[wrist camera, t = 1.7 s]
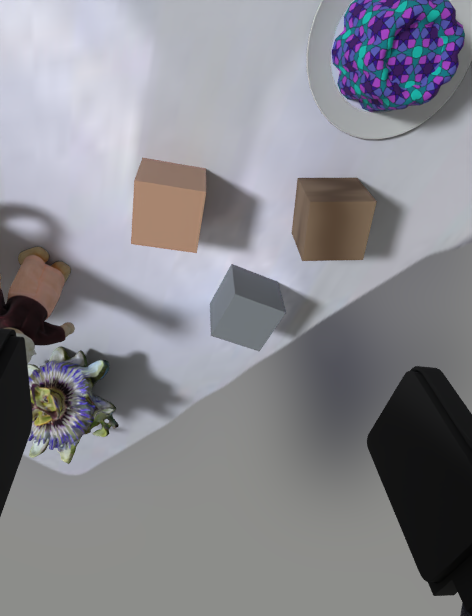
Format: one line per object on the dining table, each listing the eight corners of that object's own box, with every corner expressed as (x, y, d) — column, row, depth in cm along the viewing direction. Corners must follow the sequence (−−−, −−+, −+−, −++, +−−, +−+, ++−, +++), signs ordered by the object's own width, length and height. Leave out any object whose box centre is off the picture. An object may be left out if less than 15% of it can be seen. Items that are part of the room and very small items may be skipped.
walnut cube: (356, 177, 35) (376, 201, 31) (345, 231, 38) (362, 259, 34) (297, 177, 35) (310, 201, 31) (291, 232, 38) (302, 260, 34)
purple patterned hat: (310, -61, 26) (331, -71, 22) (500, -69, 26) (557, -80, 22) (299, 141, 33) (313, 162, 29) (448, 132, 33) (483, 152, 29)
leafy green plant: (74, 320, 49) (95, 344, 38) (126, 387, 53) (158, 424, 43) (-17, 383, 45) (-20, 427, 35) (48, 449, 49) (61, 506, 39)
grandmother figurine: (0, 262, 37) (-74, 362, 27) (16, 231, 36) (-56, 325, 26) (81, 302, 41) (41, 405, 30) (99, 275, 39) (64, 374, 29)
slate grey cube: (277, 281, 41) (285, 312, 37) (254, 318, 43) (259, 351, 39) (231, 263, 39) (235, 294, 35) (209, 303, 42) (210, 335, 38)
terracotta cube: (205, 168, 34) (206, 192, 30) (197, 224, 37) (196, 253, 33) (142, 157, 33) (134, 180, 29) (138, 215, 36) (131, 243, 32)
